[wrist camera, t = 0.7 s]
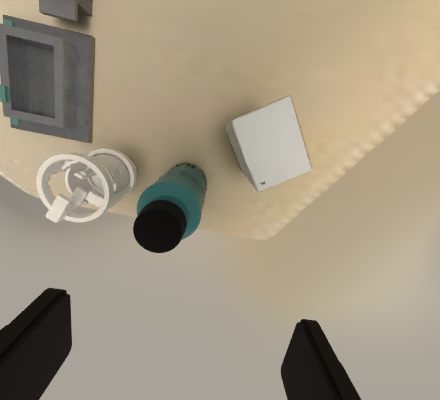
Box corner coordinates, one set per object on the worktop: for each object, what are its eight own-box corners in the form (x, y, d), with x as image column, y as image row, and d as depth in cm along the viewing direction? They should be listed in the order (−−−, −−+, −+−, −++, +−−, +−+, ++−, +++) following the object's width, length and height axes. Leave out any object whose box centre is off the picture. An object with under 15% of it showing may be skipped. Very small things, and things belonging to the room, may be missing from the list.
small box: (279, 158, 35) (314, 171, 23) (242, 173, 36) (257, 194, 23) (262, 108, 33) (291, 93, 20) (223, 125, 34) (229, 120, 21)
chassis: (9, 18, 29) (-26, -2, 24) (95, 38, 30) (74, 22, 25) (16, 127, 33) (-13, 126, 28) (91, 142, 34) (74, 143, 29)
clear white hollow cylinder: (96, 172, 35) (14, 200, 21) (117, 136, 34) (45, 139, 19) (134, 197, 36) (82, 239, 22) (156, 163, 35) (116, 185, 21)
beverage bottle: (198, 204, 37) (182, 281, 18) (161, 189, 36) (103, 252, 17) (214, 170, 36) (214, 214, 16) (176, 153, 35) (129, 178, 15)
